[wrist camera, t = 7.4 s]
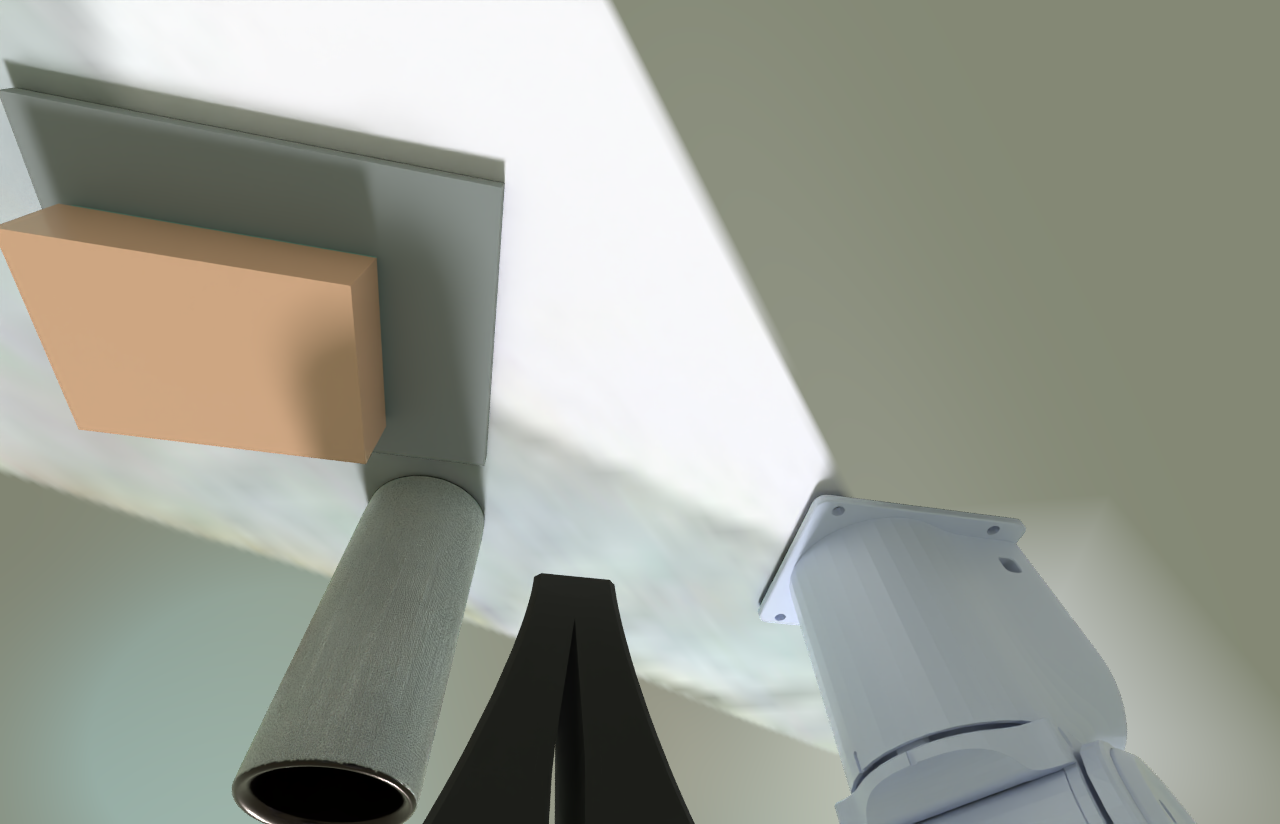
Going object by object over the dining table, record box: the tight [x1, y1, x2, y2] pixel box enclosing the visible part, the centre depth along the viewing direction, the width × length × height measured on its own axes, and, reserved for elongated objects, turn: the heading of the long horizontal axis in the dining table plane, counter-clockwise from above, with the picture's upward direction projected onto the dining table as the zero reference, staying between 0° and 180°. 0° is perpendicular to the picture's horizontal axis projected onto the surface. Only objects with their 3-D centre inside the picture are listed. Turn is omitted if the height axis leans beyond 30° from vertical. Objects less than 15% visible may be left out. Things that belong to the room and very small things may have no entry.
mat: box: [0, 88, 505, 466], centre depth 18 cm, size 12×10×1 cm
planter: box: [232, 476, 484, 824], centre depth 19 cm, size 4×4×10 cm
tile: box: [0, 204, 386, 464], centre depth 17 cm, size 2×6×8 cm
